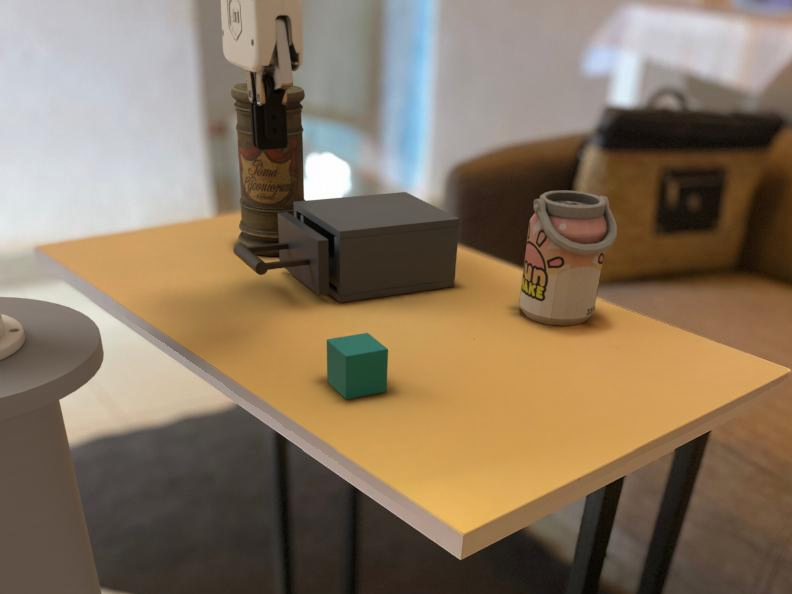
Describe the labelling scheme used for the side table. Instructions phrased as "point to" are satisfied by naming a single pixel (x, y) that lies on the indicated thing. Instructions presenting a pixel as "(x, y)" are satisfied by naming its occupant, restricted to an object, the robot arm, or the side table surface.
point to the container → (268, 172)
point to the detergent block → (357, 365)
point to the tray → (298, 253)
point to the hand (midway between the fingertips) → (270, 146)
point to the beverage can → (565, 256)
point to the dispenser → (386, 244)
